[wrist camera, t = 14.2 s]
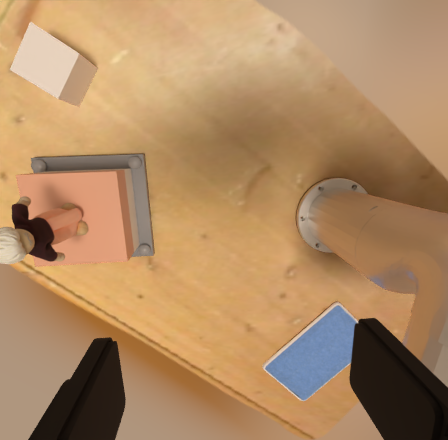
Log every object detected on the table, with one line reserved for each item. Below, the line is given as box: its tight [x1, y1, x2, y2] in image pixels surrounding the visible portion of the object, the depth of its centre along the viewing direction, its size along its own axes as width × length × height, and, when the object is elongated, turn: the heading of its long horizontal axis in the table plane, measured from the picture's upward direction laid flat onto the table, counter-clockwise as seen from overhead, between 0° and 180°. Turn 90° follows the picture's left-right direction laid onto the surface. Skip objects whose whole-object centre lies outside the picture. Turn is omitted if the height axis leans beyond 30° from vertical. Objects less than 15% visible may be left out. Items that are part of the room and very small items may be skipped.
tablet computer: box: [262, 302, 358, 401], centre depth 52 cm, size 19×13×1 cm, turn 135°
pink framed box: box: [16, 154, 154, 267], centre depth 39 cm, size 16×16×8 cm
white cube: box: [10, 22, 98, 107], centre depth 35 cm, size 6×6×6 cm
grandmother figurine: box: [0, 196, 88, 264], centre depth 29 cm, size 8×4×13 cm, turn 33°
